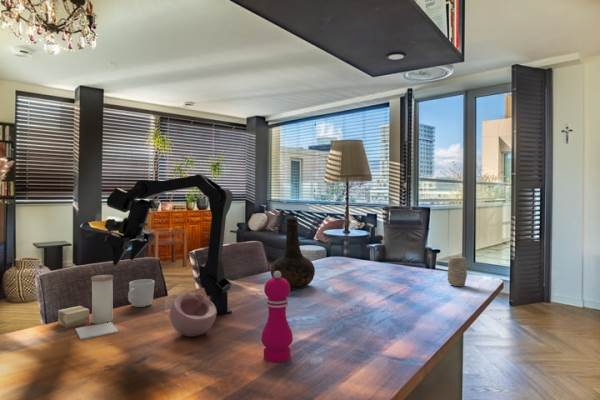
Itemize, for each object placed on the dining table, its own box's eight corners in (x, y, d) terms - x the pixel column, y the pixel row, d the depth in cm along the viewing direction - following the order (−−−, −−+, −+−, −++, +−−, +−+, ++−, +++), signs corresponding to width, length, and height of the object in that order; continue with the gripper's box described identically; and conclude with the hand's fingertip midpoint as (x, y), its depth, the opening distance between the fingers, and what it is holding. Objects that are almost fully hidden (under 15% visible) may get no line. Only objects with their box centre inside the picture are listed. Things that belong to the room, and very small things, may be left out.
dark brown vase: (317, 282, 164) (317, 217, 164) (311, 293, 147) (311, 219, 146) (276, 281, 167) (276, 216, 167) (265, 291, 150) (265, 219, 149)
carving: (469, 287, 157) (469, 258, 157) (450, 287, 157) (451, 257, 157) (463, 283, 163) (463, 255, 163) (445, 283, 163) (445, 255, 163)
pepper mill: (261, 351, 93) (261, 268, 92) (291, 350, 93) (291, 267, 93) (261, 364, 86) (261, 274, 85) (293, 363, 86) (294, 273, 86)
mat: (118, 332, 105) (118, 330, 105) (80, 339, 99) (80, 338, 99) (111, 323, 112) (111, 321, 112) (75, 329, 106) (75, 328, 106)
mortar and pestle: (191, 347, 95) (191, 300, 95) (159, 337, 101) (159, 293, 101) (225, 332, 105) (225, 290, 105) (194, 324, 111) (194, 284, 111)
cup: (140, 312, 123) (140, 287, 123) (118, 310, 124) (118, 285, 124) (159, 302, 133) (159, 279, 133) (138, 301, 135) (138, 278, 135)
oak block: (89, 323, 113) (89, 309, 113) (66, 328, 108) (66, 314, 108) (80, 318, 116) (80, 305, 116) (58, 324, 112) (58, 310, 112)
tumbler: (115, 321, 114) (115, 277, 113) (93, 325, 110) (93, 279, 110) (111, 316, 118) (110, 273, 118) (89, 320, 115) (89, 276, 114)
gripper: (131, 208, 136) (118, 249, 137) (97, 210, 118) (82, 258, 118) (160, 218, 135) (146, 260, 136) (129, 222, 116) (114, 271, 117)
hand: (123, 262), depth 127 cm, fingers open, 9 cm apart
